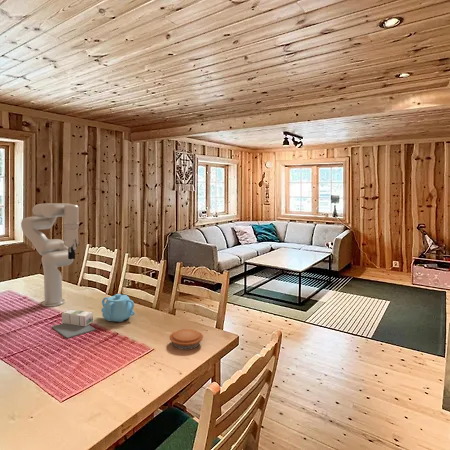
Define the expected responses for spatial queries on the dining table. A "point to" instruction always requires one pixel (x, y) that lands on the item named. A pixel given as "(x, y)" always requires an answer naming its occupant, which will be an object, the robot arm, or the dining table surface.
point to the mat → (72, 329)
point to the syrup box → (77, 317)
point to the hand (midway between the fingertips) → (71, 258)
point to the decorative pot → (117, 308)
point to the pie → (186, 338)
